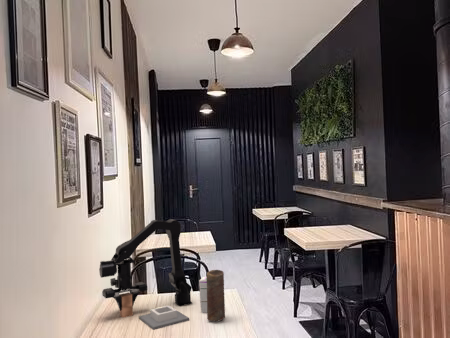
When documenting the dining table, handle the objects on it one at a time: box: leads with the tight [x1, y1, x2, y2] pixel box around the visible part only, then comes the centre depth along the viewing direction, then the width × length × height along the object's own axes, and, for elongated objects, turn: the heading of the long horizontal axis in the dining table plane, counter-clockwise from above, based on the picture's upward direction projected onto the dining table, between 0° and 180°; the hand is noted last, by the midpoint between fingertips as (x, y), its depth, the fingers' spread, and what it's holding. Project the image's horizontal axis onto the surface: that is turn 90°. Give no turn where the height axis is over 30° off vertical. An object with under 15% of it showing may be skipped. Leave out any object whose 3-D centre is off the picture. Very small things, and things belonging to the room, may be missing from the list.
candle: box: [206, 269, 226, 323], centre depth 170 cm, size 8×7×20 cm
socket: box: [138, 304, 190, 330], centre depth 174 cm, size 16×16×4 cm
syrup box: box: [198, 276, 207, 314], centre depth 182 cm, size 6×6×14 cm
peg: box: [118, 292, 134, 319], centre depth 181 cm, size 4×4×9 cm
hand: (126, 309), depth 181 cm, fingers closed on peg, 4 cm apart
